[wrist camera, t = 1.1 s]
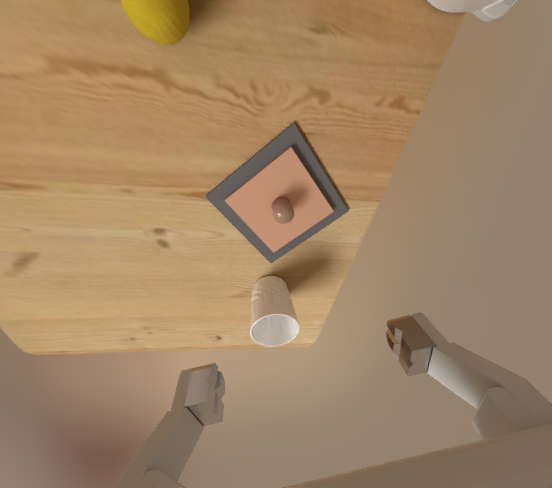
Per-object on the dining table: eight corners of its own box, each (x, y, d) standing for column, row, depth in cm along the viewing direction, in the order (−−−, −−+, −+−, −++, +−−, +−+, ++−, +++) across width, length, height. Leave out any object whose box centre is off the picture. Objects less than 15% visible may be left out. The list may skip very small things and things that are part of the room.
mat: (293, 122, 30) (294, 123, 30) (347, 210, 38) (348, 211, 38) (205, 195, 34) (205, 196, 34) (270, 262, 42) (270, 263, 42)
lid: (290, 146, 32) (295, 151, 28) (332, 209, 37) (340, 219, 34) (224, 198, 34) (222, 208, 31) (273, 250, 40) (275, 263, 37)
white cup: (243, 296, 46) (242, 341, 37) (260, 267, 42) (263, 308, 34) (278, 307, 48) (285, 350, 40) (297, 279, 45) (308, 321, 36)
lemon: (203, 2, 24) (185, -38, 17) (188, 62, 26) (167, 48, 19) (146, -36, 22) (101, -98, 15) (135, 32, 24) (92, 5, 18)
